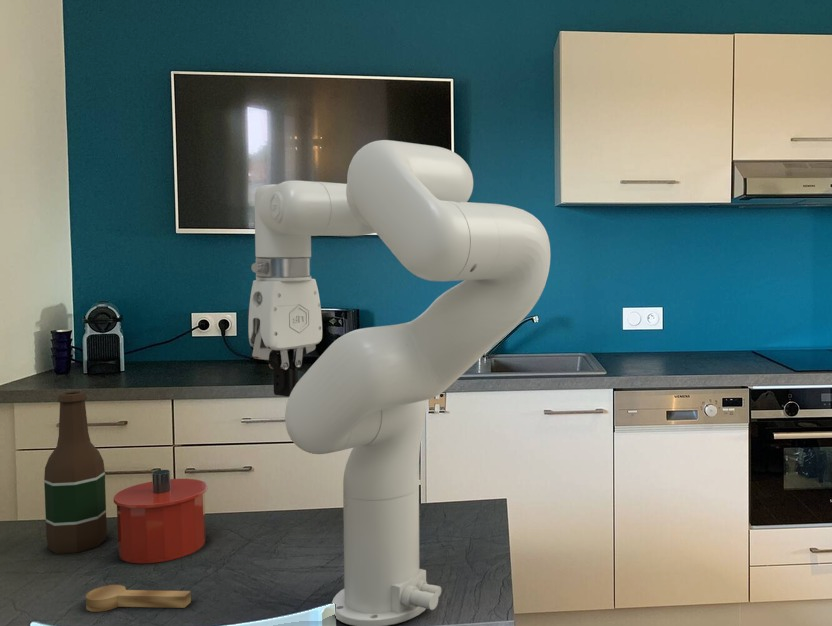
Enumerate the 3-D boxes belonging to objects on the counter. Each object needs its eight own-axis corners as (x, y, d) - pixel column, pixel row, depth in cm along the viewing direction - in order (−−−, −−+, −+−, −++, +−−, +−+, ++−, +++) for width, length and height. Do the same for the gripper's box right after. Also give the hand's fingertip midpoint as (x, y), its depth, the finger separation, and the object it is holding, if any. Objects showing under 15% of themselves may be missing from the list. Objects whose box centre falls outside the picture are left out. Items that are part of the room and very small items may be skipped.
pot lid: (225, 492, 122) (225, 466, 122) (150, 517, 111) (149, 489, 111) (171, 481, 128) (171, 456, 127) (94, 504, 116) (93, 477, 116)
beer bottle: (77, 557, 116) (71, 398, 115) (33, 552, 118) (27, 396, 116) (118, 537, 124) (114, 389, 122) (77, 533, 125) (72, 386, 124)
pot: (221, 541, 123) (220, 488, 122) (152, 569, 112) (151, 511, 112) (172, 529, 128) (171, 478, 127) (101, 555, 117) (99, 499, 117)
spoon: (196, 597, 104) (196, 586, 103) (178, 613, 99) (178, 601, 99) (100, 595, 104) (100, 584, 104) (78, 611, 99) (77, 599, 99)
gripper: (260, 272, 105) (263, 406, 106) (340, 269, 118) (342, 388, 119) (221, 271, 108) (224, 401, 109) (304, 268, 121) (305, 384, 122)
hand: (285, 394), depth 114 cm, fingers closed
